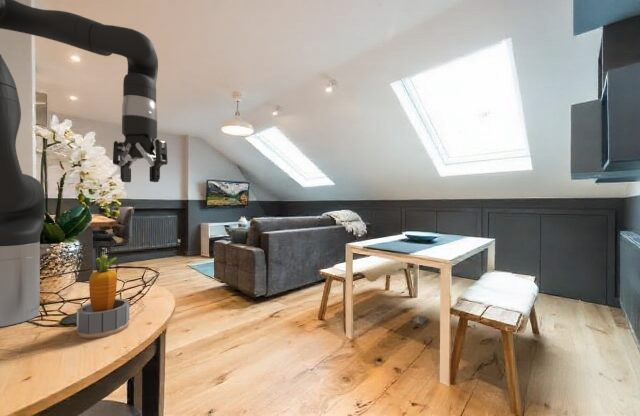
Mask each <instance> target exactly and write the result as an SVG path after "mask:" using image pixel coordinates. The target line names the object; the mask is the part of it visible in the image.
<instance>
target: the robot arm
mask: <svg viewBox="0 0 640 416" xmlns="http://www.w3.org/2000/svg"><path fill="white" fill-rule="evenodd" d="M0 29H1V30H7V31H13V32H16V33H21V34H26V35H31V36H36V37H40V38H44V39H47V40H52V41H55V42H58V43H62V44H65V45H68V46H71V47H73V48H77V49H80V50H84V51H86V52H90V53H93V54H96V55H98V56H103V57H109V56H111V55H112V54H114V55H118V56H122V57H124V58H126V61H127V74H125V75H124V77H123V84H122V85H123V87H122V89H123V92H122V95H123V96H122V104H121V134H122V135H123V136H124V141H123V142H122V141H117V140H114V142H113V151H112V164H113V165H116V166H118V167H119V168H120V170H119V171H120V180H121V182H122V183H131V182H132V168H131V167H132V165H133V163H134V162H136V161H137V160H138V159H139V160H140V159H144V160H146V161H147V163H148V164H149V165H150V166H149V182H150V183H158V182H160V178H161V167H162V166H164V165H168V146H167V144H168V143H167V141H165V140H161V139H158V108H157V87H156V86H157V79H158V73H159V58H158V55H157V53H156V49H155V47H154V44H153V42H152V40H150V38H149V37H148V36H146V35H145V33H142V32H140V31H138V30H136V29H133V28H130V27H123V26H119V25H118V26H117V25H110V24H103V23H101V22H98V21H95V20H94V19H90V18H89V17H88V18H87V17H84V16H83V15H78V14H77V13H73V12H68V11H65V10H56V9H55V10H53V9H44V8H43V9H41V8H38V7H33V6H29V5H27V4H23V3H21V2H19V1H17V0H0ZM21 117H22V109H21V104H20V98H19V93H18V88H17V86H16V82H15V79H14V77H13V75H12V73H11V70H10V68H9V67H8V66H7V63H6V61H5V60H4V58H3V56H2V55H1V53H0V328H1V327H6V326H7V327H8V326H11V325H16V324H21V323H24V322H26V321H29V320H32V319H34V318H36V317H38V316H39V315H40V308H41V307H40V306H41V305H40V289H41V288H40V287H41V286H40V283H41V282H40V281H41V280H40V278H41V277H40V276H41V275H40V272H41V269H40V268H41V267H40V266H41V264H40V263H41V262H40V261H41V254H40V252H41V250H40V249H41V246H40V245H41V233H42V231H43V229H44V224H45V212H46V211H45V210H46V209H45V208H46V195H45V194H46V193H45V189H44V186H43V185H42V183H41V182H40V181H39V180H38V179H37V178H35V177H33V176H31V175H28V174H25V173H23V171H22V168H21V165H20V162H19V158H18V153H17V146H16V145H17V144H16V143H17V138H18V137H17V136H18V133H19V129H20V125H21V120H22V119H21Z"/></svg>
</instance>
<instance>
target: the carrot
mask: <svg viewBox="0 0 640 416" xmlns="http://www.w3.org/2000/svg"><path fill="white" fill-rule="evenodd" d="M108 257H109V256H108V255H106V254H102V255H101V256H100V257H97V258H95V262H96V264H97V265H96V266H97V267H98V268H99V270H98V271H95V272H92V273H91V274H90V276H89V279H88V280H89V281H88V286H89V289H88V290H89V301H90V303H91V306H92V310H93V312H102V311H107V310H112V309H113V306H114V302H115V299H116V296H117V295H116V294H117V285H118V273H117V272H116V270H111V269H110V270H109V268H110V266H111V265H112V264H113V263H114V262H115V261H117V260H118V258H117V257H116V256H115V257H113V258H112V259H110V260H109V261H107V259H108Z"/></svg>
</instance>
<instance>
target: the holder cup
mask: <svg viewBox="0 0 640 416" xmlns="http://www.w3.org/2000/svg"><path fill="white" fill-rule="evenodd" d="M130 305H131V304H130V301H129V300H128V299H125V298H115V302H114V306H113V309H112V310H107V311H102V312H93V310H92V306H91V302H90V303H87V304H84V305H82V306H80V307H79V308H77V309H76V331H77V334H76V335H77V337H78V338H79V339H83V340H84V339H85V340H89V339H91V340H92V339H101V338H105V337H109V336H112V335H115V334H118V333H120V332H122V331H124V330H126V329H127V328H128V327H129V321H130Z"/></svg>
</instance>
